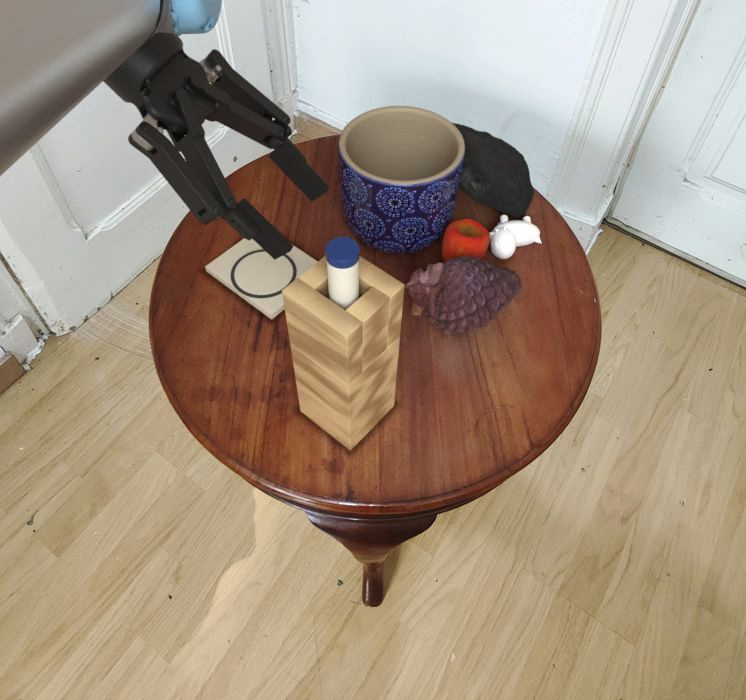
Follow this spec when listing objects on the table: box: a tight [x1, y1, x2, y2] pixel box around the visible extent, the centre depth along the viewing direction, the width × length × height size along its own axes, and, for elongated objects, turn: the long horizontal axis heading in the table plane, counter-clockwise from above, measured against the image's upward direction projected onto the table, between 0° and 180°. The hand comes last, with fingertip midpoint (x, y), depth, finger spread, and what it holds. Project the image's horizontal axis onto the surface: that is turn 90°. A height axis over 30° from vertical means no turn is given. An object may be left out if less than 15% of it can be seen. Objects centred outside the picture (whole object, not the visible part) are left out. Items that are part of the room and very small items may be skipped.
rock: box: [451, 122, 535, 221], centre depth 92 cm, size 15×14×7 cm
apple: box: [441, 218, 491, 263], centre depth 86 cm, size 6×6×8 cm
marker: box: [324, 236, 360, 311], centre depth 59 cm, size 3×3×13 cm
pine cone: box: [404, 256, 523, 336], centre depth 81 cm, size 18×10×10 cm
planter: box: [337, 105, 465, 255], centre depth 88 cm, size 16×17×15 cm
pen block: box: [282, 255, 405, 451], centre depth 67 cm, size 8×8×22 cm
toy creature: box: [489, 214, 543, 260], centre depth 90 cm, size 5×8×6 cm
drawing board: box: [204, 238, 319, 320], centre depth 88 cm, size 11×13×1 cm
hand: (303, 222), depth 65 cm, fingers open, 9 cm apart
